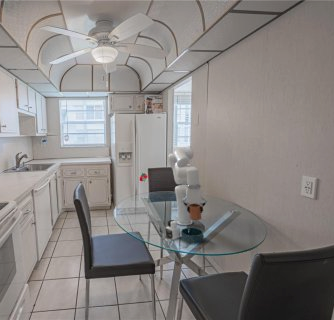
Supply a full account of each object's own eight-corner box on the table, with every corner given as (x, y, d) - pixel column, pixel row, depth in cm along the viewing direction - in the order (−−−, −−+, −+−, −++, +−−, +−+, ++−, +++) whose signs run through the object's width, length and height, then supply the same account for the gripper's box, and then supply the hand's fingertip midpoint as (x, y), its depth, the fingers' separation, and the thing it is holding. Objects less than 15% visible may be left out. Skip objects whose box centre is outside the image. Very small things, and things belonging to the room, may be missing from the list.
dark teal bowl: (177, 239, 148) (176, 231, 148) (190, 233, 155) (190, 226, 155) (194, 246, 136) (193, 238, 136) (208, 239, 143) (207, 231, 143)
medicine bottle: (166, 236, 153) (164, 220, 153) (173, 234, 156) (172, 218, 156) (172, 240, 147) (171, 223, 146) (180, 237, 150) (179, 221, 149)
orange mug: (201, 220, 139) (200, 207, 139) (189, 220, 142) (189, 206, 141) (200, 214, 149) (199, 202, 149) (189, 214, 152) (189, 202, 151)
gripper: (207, 185, 143) (208, 210, 144) (180, 185, 149) (181, 210, 150) (207, 187, 136) (209, 214, 137) (179, 188, 142) (181, 213, 143)
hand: (195, 212), depth 144 cm, fingers closed on orange mug, 7 cm apart
